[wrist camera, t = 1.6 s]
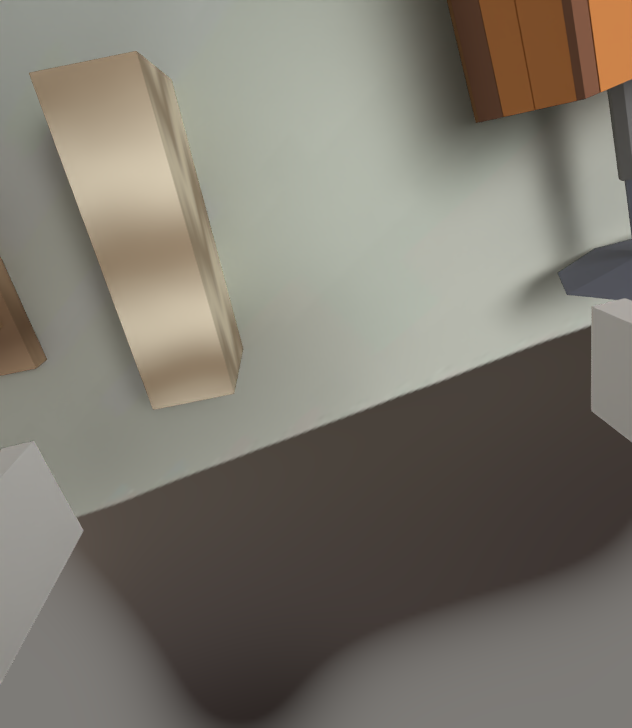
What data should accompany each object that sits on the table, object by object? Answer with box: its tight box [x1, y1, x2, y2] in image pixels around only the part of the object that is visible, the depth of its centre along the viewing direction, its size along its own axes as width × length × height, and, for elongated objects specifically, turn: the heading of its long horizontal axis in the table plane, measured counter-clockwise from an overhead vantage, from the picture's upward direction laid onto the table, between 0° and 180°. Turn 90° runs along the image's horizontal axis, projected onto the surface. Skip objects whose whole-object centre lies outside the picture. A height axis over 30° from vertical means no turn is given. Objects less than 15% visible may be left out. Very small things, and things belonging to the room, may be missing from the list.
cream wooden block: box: [29, 51, 243, 410], centre depth 26 cm, size 16×4×7 cm, turn 11°
